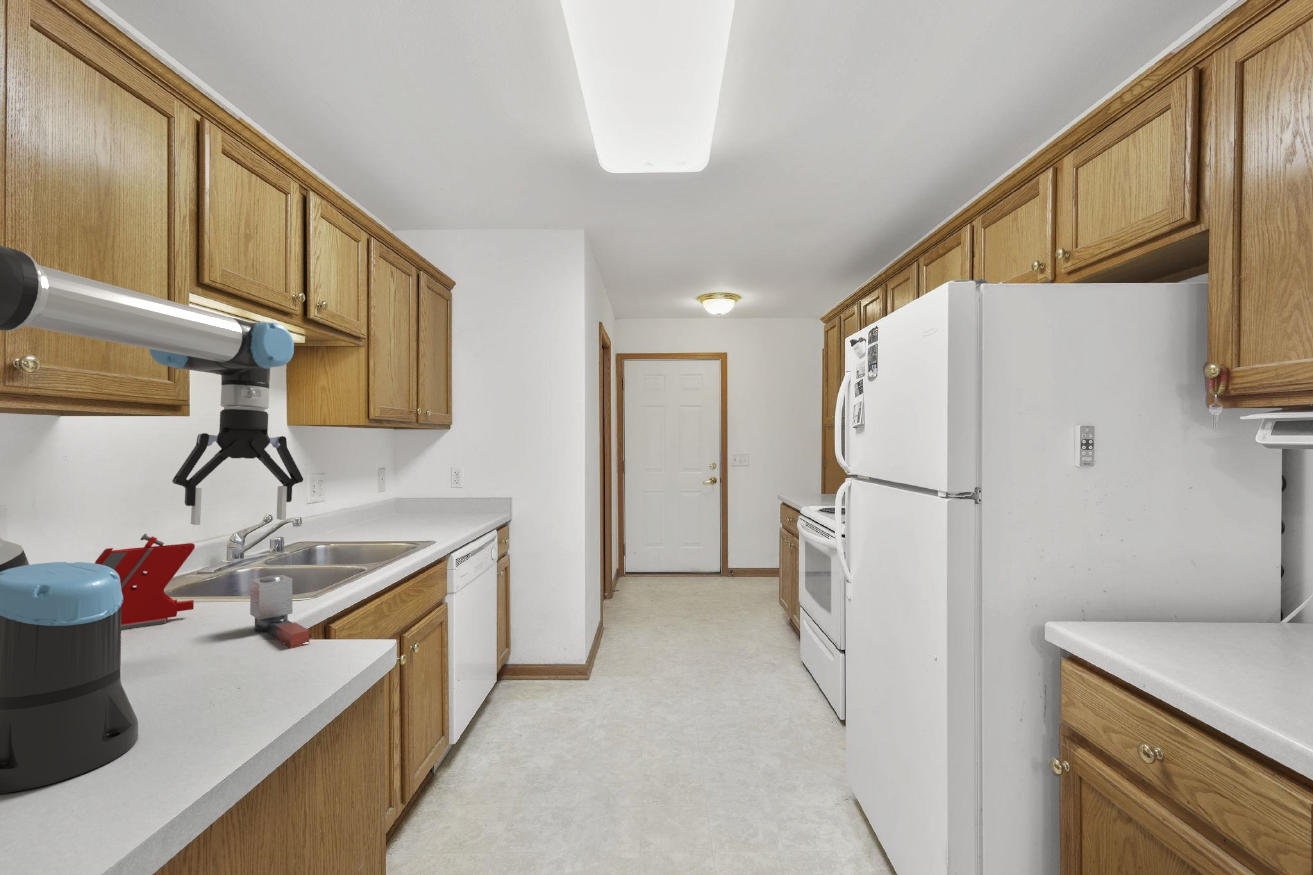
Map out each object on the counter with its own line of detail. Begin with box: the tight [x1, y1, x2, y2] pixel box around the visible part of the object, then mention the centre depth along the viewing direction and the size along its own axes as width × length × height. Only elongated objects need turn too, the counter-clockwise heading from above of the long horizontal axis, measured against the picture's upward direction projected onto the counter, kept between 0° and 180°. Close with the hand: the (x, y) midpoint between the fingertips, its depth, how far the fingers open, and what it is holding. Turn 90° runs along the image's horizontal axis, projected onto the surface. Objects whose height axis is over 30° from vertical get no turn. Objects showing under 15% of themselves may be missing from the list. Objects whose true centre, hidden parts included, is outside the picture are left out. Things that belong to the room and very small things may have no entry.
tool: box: [94, 533, 196, 631], centre depth 124 cm, size 24×5×25 cm, turn 131°
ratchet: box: [254, 614, 310, 649], centre depth 118 cm, size 6×20×6 cm, turn 49°
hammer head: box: [249, 574, 293, 620], centre depth 123 cm, size 6×6×8 cm
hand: (240, 521), depth 110 cm, fingers open, 13 cm apart
